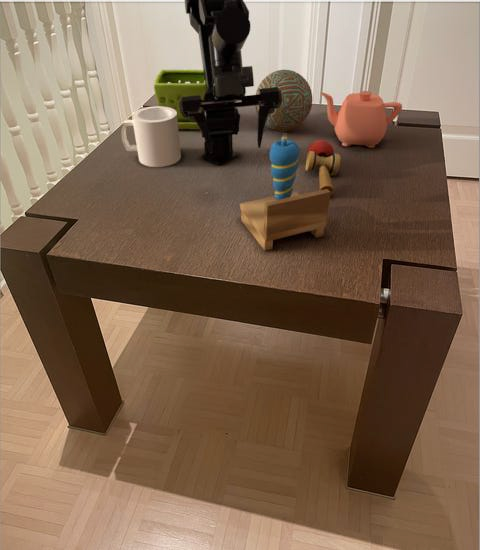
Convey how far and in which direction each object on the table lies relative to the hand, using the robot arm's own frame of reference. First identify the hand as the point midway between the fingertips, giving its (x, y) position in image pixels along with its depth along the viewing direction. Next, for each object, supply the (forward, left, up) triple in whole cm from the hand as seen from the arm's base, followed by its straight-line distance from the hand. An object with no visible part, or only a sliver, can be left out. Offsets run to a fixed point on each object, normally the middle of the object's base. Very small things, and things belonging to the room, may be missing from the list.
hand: (235, 150), depth 87 cm
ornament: (+1, +12, -8) cm, 15 cm away
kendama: (-21, +8, -12) cm, 25 cm away
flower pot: (-24, -39, -12) cm, 47 cm away
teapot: (-44, +3, -12) cm, 45 cm away
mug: (-4, -29, -12) cm, 32 cm away
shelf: (+1, +13, -12) cm, 17 cm away
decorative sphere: (-38, -16, -12) cm, 43 cm away
